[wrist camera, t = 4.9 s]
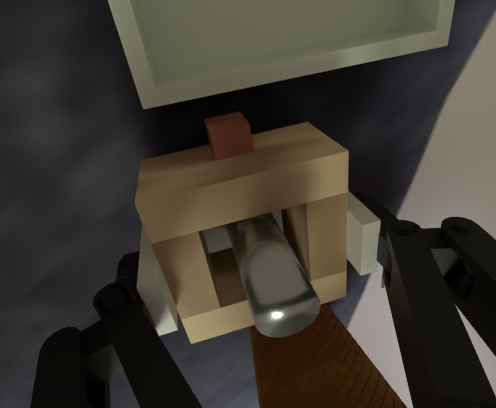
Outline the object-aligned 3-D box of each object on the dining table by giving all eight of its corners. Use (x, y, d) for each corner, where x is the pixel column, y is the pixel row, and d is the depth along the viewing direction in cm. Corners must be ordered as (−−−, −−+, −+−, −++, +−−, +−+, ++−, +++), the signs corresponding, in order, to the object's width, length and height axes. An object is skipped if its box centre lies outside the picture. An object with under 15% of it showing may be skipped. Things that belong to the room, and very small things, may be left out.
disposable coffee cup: (365, 280, 25) (500, 458, 15) (309, 359, 29) (388, 544, 19) (257, 260, 22) (341, 473, 11) (210, 352, 25) (241, 576, 15)
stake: (192, 254, 20) (210, 397, 12) (160, 151, 16) (156, 266, 9) (298, 226, 21) (375, 345, 13) (289, 121, 17) (389, 204, 10)
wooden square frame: (185, 285, 19) (191, 343, 15) (131, 135, 14) (122, 172, 10) (314, 248, 20) (346, 296, 16) (306, 96, 15) (349, 119, 11)
